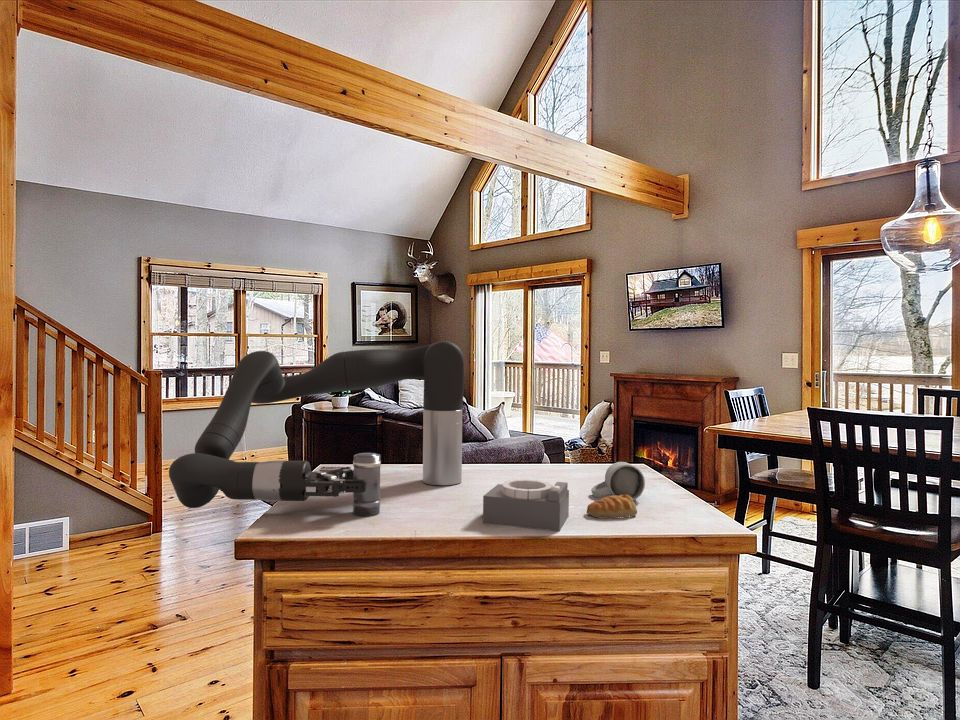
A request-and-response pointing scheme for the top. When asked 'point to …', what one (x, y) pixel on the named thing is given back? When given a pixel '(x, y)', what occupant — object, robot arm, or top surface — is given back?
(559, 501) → the grey socket block
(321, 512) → the top surface
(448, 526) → the top surface
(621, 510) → the pastry
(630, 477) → the ceramic mug
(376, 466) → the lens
